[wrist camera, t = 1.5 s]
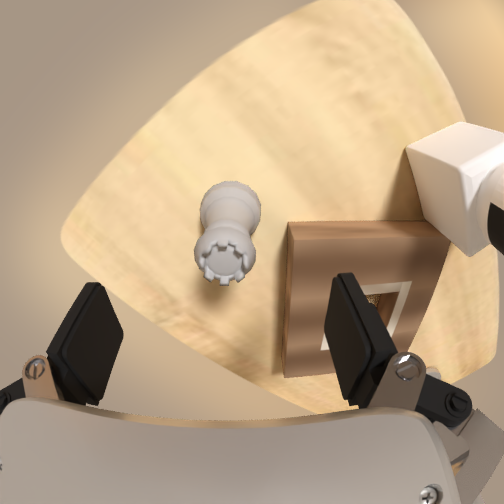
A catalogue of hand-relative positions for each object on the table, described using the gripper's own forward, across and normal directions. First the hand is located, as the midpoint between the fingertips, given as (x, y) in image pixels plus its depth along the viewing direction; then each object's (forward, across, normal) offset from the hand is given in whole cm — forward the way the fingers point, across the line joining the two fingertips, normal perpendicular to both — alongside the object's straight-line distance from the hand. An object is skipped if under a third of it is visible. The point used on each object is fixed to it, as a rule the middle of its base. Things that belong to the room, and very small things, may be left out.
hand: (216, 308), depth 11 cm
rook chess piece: (+12, 0, 0) cm, 12 cm away
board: (+11, -12, +10) cm, 19 cm away
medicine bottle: (+11, -19, -3) cm, 22 cm away
